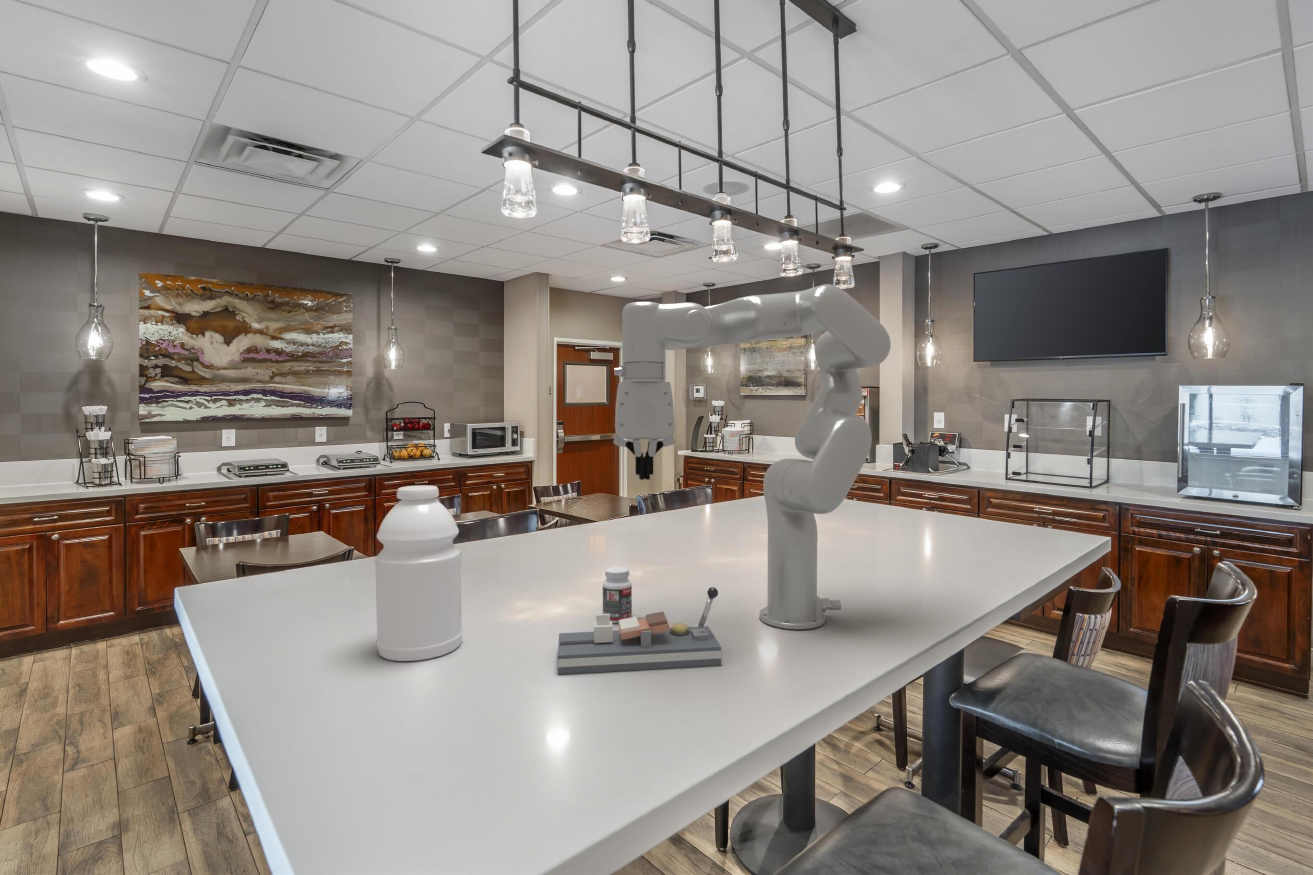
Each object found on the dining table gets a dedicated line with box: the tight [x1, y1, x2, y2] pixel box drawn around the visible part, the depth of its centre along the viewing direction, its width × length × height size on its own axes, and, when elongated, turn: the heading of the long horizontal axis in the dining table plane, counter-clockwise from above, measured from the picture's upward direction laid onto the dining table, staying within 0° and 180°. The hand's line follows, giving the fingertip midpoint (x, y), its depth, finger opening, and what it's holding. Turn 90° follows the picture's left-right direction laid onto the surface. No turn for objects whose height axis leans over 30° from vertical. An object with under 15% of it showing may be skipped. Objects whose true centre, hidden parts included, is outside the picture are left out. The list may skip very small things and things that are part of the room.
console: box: [557, 616, 722, 676], centre depth 104 cm, size 26×10×6 cm, turn 98°
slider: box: [593, 613, 614, 643], centre depth 103 cm, size 3×2×4 cm
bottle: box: [374, 484, 463, 662], centre depth 109 cm, size 14×14×28 cm
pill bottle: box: [602, 566, 633, 624], centre depth 124 cm, size 6×6×10 cm
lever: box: [697, 586, 719, 629], centre depth 106 cm, size 2×2×7 cm
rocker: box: [617, 611, 671, 640], centre depth 104 cm, size 8×5×2 cm, turn 97°
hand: (644, 478), depth 110 cm, fingers closed
